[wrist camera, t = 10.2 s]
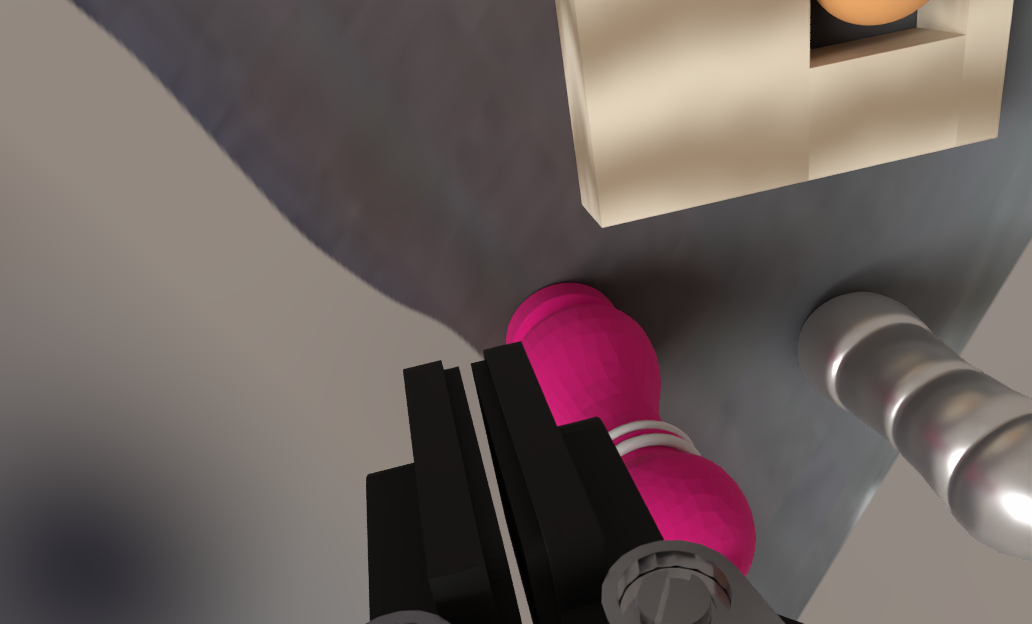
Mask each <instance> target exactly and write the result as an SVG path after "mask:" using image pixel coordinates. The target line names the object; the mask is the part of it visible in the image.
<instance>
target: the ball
mask: <svg viewBox="0 0 1032 624" xmlns="http://www.w3.org/2000/svg"><path fill="white" fill-rule="evenodd" d="M817 1H818V2H819V4H820V5H821V6H822V7H823V8H824V9H825V10H826V11H828V12H829V13H830V14H832V15H833V16H835V17H836V18H838V19H841V20H843V21H845V22H849V23H852V24H858V25H880V24H886V23H890V22H894V21H896V20H899V19H902V18H904V17H906V16H908V15H910V14H912V13H913V12H915V11H916V10H918V9H919V8H921V7H922V6H923V5H925V4H926V3H927V2H928V1H929V0H817Z"/></svg>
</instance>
